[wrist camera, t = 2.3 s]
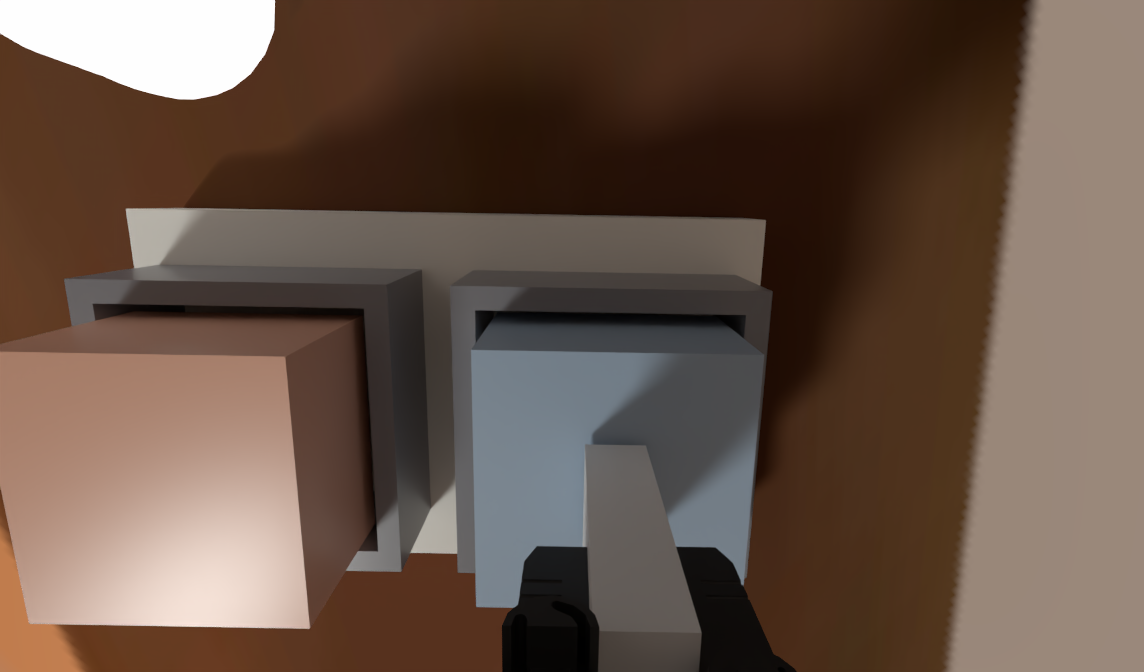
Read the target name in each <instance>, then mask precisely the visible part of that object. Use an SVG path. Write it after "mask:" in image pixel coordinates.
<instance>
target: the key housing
mask: <svg viewBox="0 0 1144 672" xmlns="http://www.w3.org/2000/svg"><path fill="white" fill-rule="evenodd" d="M126 214H127V221H128V228H129V235H130V242H131V249H132V256H133V263H134V269H127V270H120V271H113V272H107V273H100V274H93V275H87V276H80V277H73V278H67V279H64V281H65V287H66V293H67V299H68V305H69V311H70V317H71V323H72V326H76V325H80V324H84V323H88V322H92V321H96V320H100V319H104V318H109V317H113V316H117V315H121V314H125V313H129V312H133V311H143V312H200V313H256V314H313V315H363V329H364V345H365V362H366V378H367V395H368V411H369V428H370V444H371V461H372V478H373V494H374V511H375V524H374V526H373V528H372V529H371V531H370V533H369V534H368V536H367V537H366V539H365V541H364V542H363V544H362V545H361V547H360V549H359V550H358V552H357V553H356V555H355V557H354V558H353V560H352V562H351V563H350V565H349V566H348V568H347V570H346V571H395V572H402V569H403V567H404V565H405V563H406V561H407V559H408V557H409V554H410V553H457V558H458V573H476V568H475V519H474V470H473V421H472V372H471V349H472V348H473V346H474V345H475V344H476V342H477V341H478V339H479V338H480V336H481V335H482V334H483V332H484V331H485V329H486V328H487V326H488V325H489V324H490V322H491V321H492V319H493V318H494V316H495V315H496V314H497V312H511V313H567V314H624V315H681V316H716V317H718V318H719V319H720V320H721V321H722V322H724V323H725V324H726V325H727V326H729V327H730V328H731V329H732V330H734V331H735V332H736V333H737V334H739V335H740V336H741V337H742V338H744V339H745V340H746V341H747V342H749V343H750V344H751V345H752V346H754V347H755V348H756V349H757V350H759V351H760V352H761V353H762V354H764V364H763V375H762V386H761V397H760V408H759V419H758V430H757V441H756V452H755V463H754V474H753V485H752V496H751V507H750V519H749V530H748V541H747V552H746V563H745V574H744V578H746V577H747V566H748V555H749V545H750V534H751V523H752V512H753V501H754V490H755V479H756V468H757V457H758V446H759V435H760V424H761V413H762V402H763V392H764V381H765V370H766V359H767V348H768V337H769V326H770V315H771V304H772V293H773V291H771V290H768V289H766V288H764V287H762V286H760V284H761V273H762V261H763V250H764V238H765V227H766V220H760V219H749V218H722V217H665V216H608V215H552V214H495V213H438V212H382V211H325V210H268V209H212V208H144V209H126Z"/></svg>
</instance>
